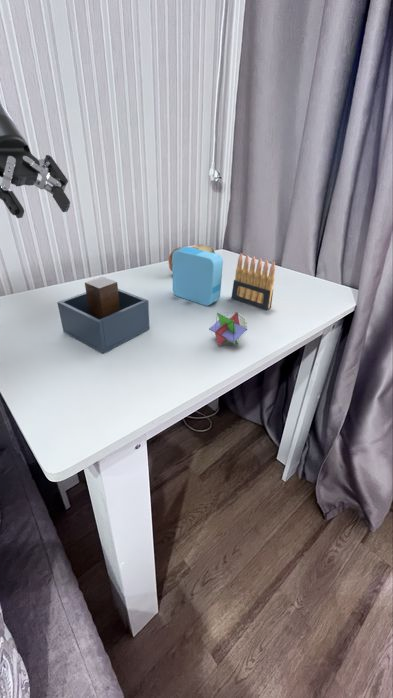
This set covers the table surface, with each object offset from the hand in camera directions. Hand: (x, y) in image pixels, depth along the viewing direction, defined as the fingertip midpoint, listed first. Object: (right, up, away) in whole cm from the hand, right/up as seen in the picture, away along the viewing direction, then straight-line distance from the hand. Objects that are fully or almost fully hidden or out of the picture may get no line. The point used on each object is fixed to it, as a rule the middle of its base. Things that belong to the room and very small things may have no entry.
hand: (45, 212), depth 57 cm
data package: (+26, -11, +29) cm, 40 cm away
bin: (+7, -20, +13) cm, 25 cm away
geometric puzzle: (+32, -23, +11) cm, 41 cm away
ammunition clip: (+40, -12, +27) cm, 50 cm away
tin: (+25, -1, +44) cm, 50 cm away
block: (+7, -19, +12) cm, 24 cm away
